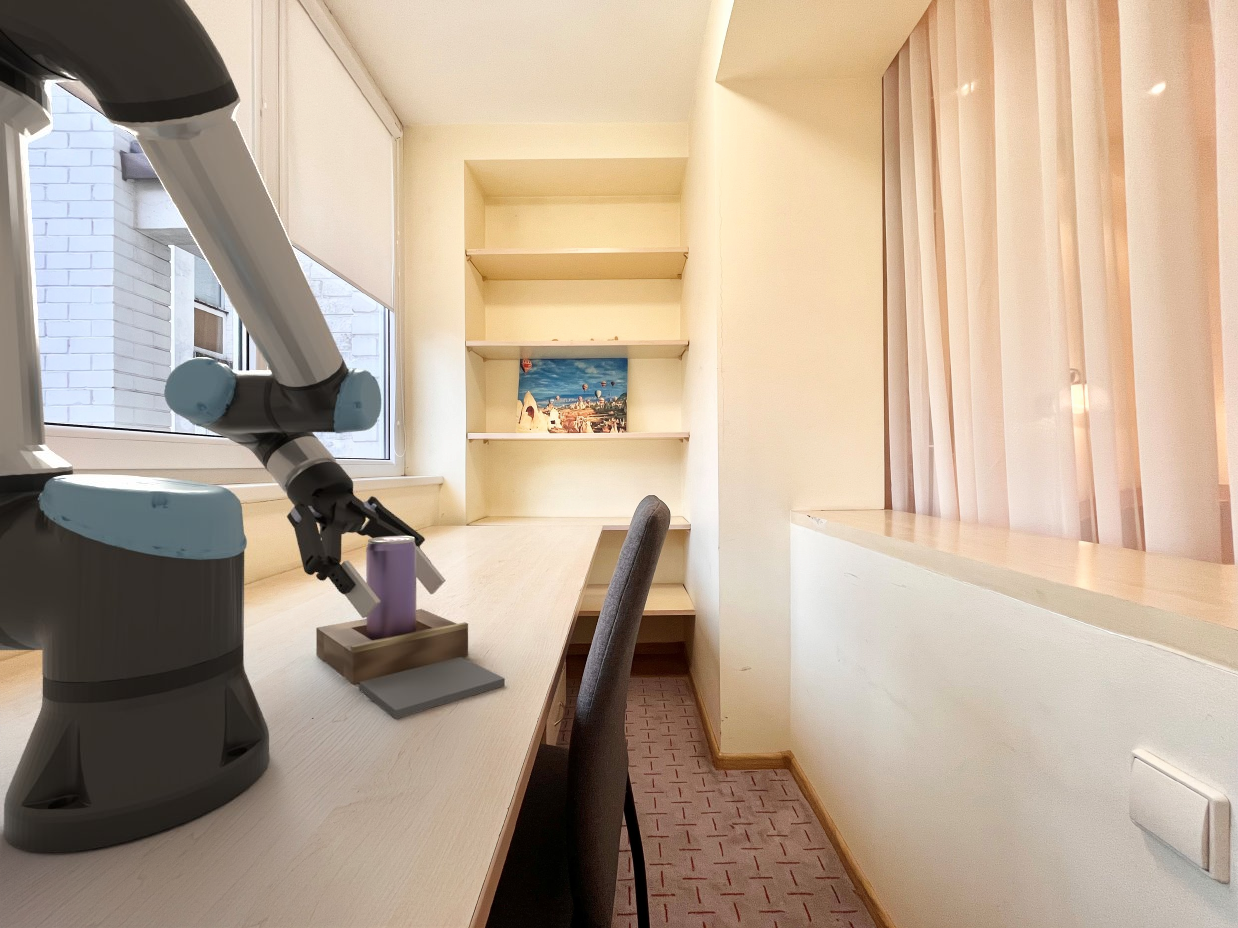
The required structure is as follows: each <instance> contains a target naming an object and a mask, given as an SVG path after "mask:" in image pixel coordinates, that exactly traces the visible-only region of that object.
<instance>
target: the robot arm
mask: <svg viewBox="0 0 1238 928" xmlns="http://www.w3.org/2000/svg"><path fill="white" fill-rule="evenodd" d="M69 82H79V83H80V82H81V84H82V85H83V86H84V87H86V89H88V90H89V91H90V92H91V94H92V95H93V96H94V98H95V99H96V101H97V103H98V105H99V106H100V109H102V111H103V113H104V115H105V117H106V119H107V120H108V121H109V122H110V123H111V124H113V125H114V126H117V127H119V128H121V129H123V130H125V131H127V132H129V134H131V135H132V136H133V137H134V138H135V140H136V142H137V143H138V144H139V146H140V148H141V150H142V152H143V154H144V156H145V157H146V158H147V160H148V162H149V164H150V166H151V168H152V169H153V170H154V173H155V174H156V176H157V178H158V179H159V181H160V183H161V184H162V187H163V188H164V190H165V191H166V194H167V195H168V197H169V199H170V200H171V203H173V205H174V207H175V208H176V210H177V212H178V213H179V215H180V217H181V219H182V221H183V223H184V224H185V226H186V228H187V229H188V232H189V233H190V235H191V237H192V238H193V240H194V242H195V243H196V245H197V246H198V248H199V250H200V253H201V254H202V255H203V257H204V259H205V260H206V262H207V264H208V266H209V268H210V269H211V271H212V273H213V274H214V276H215V278H216V279H217V281H218V283H219V284H220V286H221V288H222V290H223V291H224V294H225V295H226V296H227V298H228V301H229V302H230V304H231V305H232V307H233V309H234V310H235V312H236V314H237V316H238V317H239V319H240V321H241V323H242V324H243V326H244V328H245V329H246V331H247V333H248V335H249V336H250V338H251V340H252V342H253V343H254V346H255V347H256V348H257V351H258V352H259V353H260V355H261V357H262V359H263V360H264V362H265V364H266V366H267V367H268V369H269V370H236V369H233V368H232V367H230V366H229V365H227V364H226V363H222V362H220V361H219V360H216V359H213V358H209V357H205V356H204V357H203V356H201V357H193V358H190V359H187V360H185V361H183V362H182V363H180V364H178V365H177V366H176V367H175V368H174V369H173V370H172V371H171V372H170V374H169V375H168V376H167V379H166V383H165V385H164V392H163V394H164V399H165V402H166V404H167V405H168V407H169V408H170V410H172V412H173V413H174V414H177V415H178V416H180V417H182V418H184V419H186V420H188V422H189V423H191V424H192V425H194V426H197V427H200V428H204V429H206V430H208V431H210V432H212V433H215V434H217V435H219V436H222V437H223V438H226V439H228V440H229V441H232V442H233V443H236V444H237V445H240V446H242V447H245V448H247V449H249V451H251V453H253V454H254V456H255V457H256V458H257V459H258V460H259V462H260V463H261V465H263V467H264V468H265V470H266V471H267V472H268V473H269V474H270V475H271V477H272V478H273V479H274V480H275V482H276V483H277V484H278V486H279V487H280V489H282V491H283V493H285V494H286V496H287V498H288V499H289V500H290V502H291V504H293V508H292V509H290V511H289V513H288V514H287V515H286V518H287V520H288V521H289V523H290V525H291V526H292V527H293V528H294V533H295V538H296V541H297V547H298V550H299V553H300V558H301V562H302V566H303V570H304V573H305V574H307V575H308V576H309V575H310V576H313V575H314V574H315V573H317V574H316V575H315V576H316V578H317V580H319V581H321V582H322V581H323V582H324V581H326V579H329V580H330V581H331V583H332V584H333V585H334V587H335V588H336V589H337V591H338V592H339V593H340V594H342V595H344V596H345V597H346V598H347V600H348V601H349V602H350V604H351V605H352V606H353V608H354V609H355V610H356V612H357V613H358V615H360V617H361V618H362V619H366V617H368V615H369V614H370V613H371V612H372V611H373V610H374V609H375V608H376V606H377V605H378V604H379V603H380V602H381V601H380V600H379V598H378V597H377V596H376V595H375V593H374V592H373V591H372V590H371V588H370V587H369V586H368V584H367V583H366V580H365V579H364V578H363V577H362V575H361V574H360V573H359V572H358V570H357V569H356V568H355V566H354V565H353V564H352V563H351V561H350V560H345V561H343V562H342V538H343V537H342V535H345V534H346V533H349V534H353V533H356V534H358V535H359V536H362V537H365V536H368V537H369V538H370V539H371V538H377V537H388V536H410V537H414V538H415V540H414V541H415V544H416V579H417V580H418V581H419V582H420V583H421V584H422V585H423V587H424V588H425V590H426V591H427V592H428V593H429V594H430V595H433V594H436V592H437V591H438V590H439V588H441V586H442V585H443V584H444V583H445V582H446V581H447V580H446V578H445V577H443V575H442V574H441V573H440V571H439V570H438V569H437V568H436V567H435V566H434V564H433V563H432V562H431V560H430V559H429V558H428V556H427V555H426V554H425V553H424V551H423V550H422V549H421V545H422V544H423V543H424V542H425V541H426V539H425V537H424V536H423V535H422V534H421V533H419V532H418V531H416V530H415V529H414V528H412V527H411V526H410V525H409V524H407V523H406V522H404V521H403V520H402V519H401V518H400V517H398V516H397V515H395V514H394V513H393V512H392V511H391V510H389V509H387V508H386V507H385V506H384V505H383V504H382V502H380V501H379V500H378V498H377V497H375V496H373V495H372V496H370V497H369V498H368V499H367V500H364V501H362V500H361V499H359V498H358V497H357V496H356V495H355V494H354V481H353V480H352V478H351V477H350V476H349V474H348V473H347V472H346V471H345V470H344V469H343V467H342V465H340V464H339V463H338V462H337V460H336V458H335V457H334V455H333V454H332V453H331V452H330V451H329V449H327V447H325V445H324V444H323V442H321V441H320V440H319V438H318V437H317V436H316V435H315V434H314V433H336V434H342V433H352V432H363V431H368V430H370V429H371V428H374V426H375V425H376V423H378V419H379V417H380V414H381V411H382V394H381V389H380V385H379V383H378V380H377V379H376V377H375V376H374V375H372V373H371V372H369V371H368V370H366V369H357V368H353V367H352V368H351V369H350V368H348V366H347V364H346V362H345V360H344V357H343V356H342V354H341V352H340V349H339V346H338V345H337V343H336V341H335V338H334V337H333V334H332V332H331V330H330V328H329V326H328V323H327V320H326V317H325V316H324V314H323V311H322V310H321V307H320V304H319V303H318V300H317V299H316V296H315V294H314V291H313V289H312V287H311V284H310V283H309V280H308V278H307V275H306V274H305V271H304V269H303V267H302V264H301V262H300V260H299V259H298V256H297V254H296V251H295V249H294V247H293V245H292V243H291V240H290V238H289V236H288V234H287V231H286V229H285V227H284V225H283V223H282V220H281V218H280V216H279V213H278V211H277V209H276V207H275V205H274V203H273V200H272V198H271V196H270V194H269V192H268V189H267V187H266V184H265V182H264V180H263V178H262V175H261V174H260V171H259V169H258V167H257V164H256V162H255V160H254V158H253V155H252V153H251V151H250V148H249V146H248V144H247V142H246V140H245V137H244V135H243V133H242V130H241V128H240V127H239V124H238V122H237V120H236V114H237V111H238V108H239V106H240V104H241V97H240V95H239V92H238V90H237V88H236V86H235V84H234V83H235V82H234V81H233V79H232V77H231V75H230V72H229V70H228V67H227V66H226V64H225V61H224V59H223V56H221V53H220V52H219V50H218V48H217V47H216V44H215V43H214V42H213V39H212V38H211V37H210V35H209V34H208V32H207V30H206V29H205V26H204V25H203V24H202V23H201V21H200V20H199V18H198V17H197V15H196V14H195V13H194V11H193V10H192V8H191V7H190V5H189V4H188V3H187V1H186V0H0V651H41V652H42V654H41V655H42V659H41V660H42V664H41V665H42V669H41V671H42V673H41V674H42V697H41V698H42V702H41V709H40V712H39V713H38V717H37V719H36V721H35V723H34V726H33V728H32V730H31V732H30V735H29V738H28V740H27V743H26V745H25V747H24V750H23V752H22V755H21V756H20V757H21V758H20V760H19V762H18V765H17V767H16V769H15V772H14V774H13V776H12V779H11V782H10V784H9V786H8V789H7V791H6V793H5V798H4V802H3V803H4V804H3V806H4V807H3V815H4V816H3V834H4V839H5V840H6V841H7V842H8V843H9V844H10V845H11V846H14V847H15V848H18V849H21V850H24V851H29V852H35V853H37V852H38V853H64V852H66V853H67V852H77V851H85V850H91V849H92V850H93V849H96V848H102V847H107V846H108V847H109V846H112V845H116V844H121V843H125V842H128V841H132V840H136V839H140V838H143V837H146V836H150V835H152V834H156V833H159V832H162V831H165V830H167V829H170V828H173V827H175V826H178V825H180V824H183V823H185V822H188V821H191V820H192V819H195V818H197V817H199V816H201V815H204V814H206V813H207V812H210V811H213V810H214V809H216V808H218V807H219V806H221V805H223V804H224V803H227V802H228V801H230V800H232V799H233V798H234V797H236V796H238V795H239V794H241V793H242V792H244V791H245V790H247V789H248V788H249V787H250V786H251V785H252V784H254V783H255V782H256V781H257V780H258V779H259V778H260V777H261V776H262V774H263V773H264V771H265V770H266V769H267V767H268V765H269V763H270V732H269V727H268V725H267V724H268V723H267V722H266V720H265V717H264V715H263V712H262V709H261V706H260V705H259V703H258V700H257V697H256V695H255V692H254V690H253V687H252V685H251V683H250V679H249V678H248V675H247V673H246V669H245V662H244V661H245V660H244V656H245V655H244V654H245V653H244V647H245V646H244V640H245V638H244V637H245V550H246V549H247V546H248V545H247V543H248V542H247V536H246V534H245V530H244V527H245V525H244V517H243V516H244V515H243V507H242V503H241V500H240V499H239V498H238V496H237V494H235V493H233V492H232V491H231V490H229V489H228V488H226V487H224V486H221V485H216V484H212V483H206V482H202V481H201V482H200V481H192V480H186V479H176V478H166V477H156V476H155V477H149V476H148V477H146V476H137V475H136V476H135V475H121V474H74V468H73V465H72V464H71V463H69V462H68V461H66V460H65V459H64V458H62V457H61V456H59V455H58V454H56V453H55V452H53V451H51V449H50V447H48V446H47V445H46V431H45V416H44V414H45V413H44V402H43V401H44V399H43V386H42V385H43V384H42V365H41V353H40V350H41V348H40V338H39V337H40V334H39V333H40V332H39V319H38V318H39V317H38V304H37V303H38V302H37V288H36V287H37V286H36V271H35V256H34V255H35V254H34V241H33V240H34V238H33V222H32V209H31V208H32V207H31V205H32V204H31V192H30V190H31V189H30V174H29V173H30V172H29V159H28V157H29V156H28V144H29V143H30V142H32V141H34V140H37V139H39V138H41V137H43V136H45V135H47V134H49V133H50V132H51V131H52V129H53V121H54V120H53V108H52V107H53V106H52V92H51V86H52V84H53V83H69ZM366 519H368V520H367V521H366ZM318 525H319V526H318ZM341 562H342V563H341Z"/></svg>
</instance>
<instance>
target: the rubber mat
mask: <svg viewBox="0 0 1238 928" xmlns="http://www.w3.org/2000/svg"><path fill="white" fill-rule="evenodd" d="M505 680H506V679H505V677H503V676H501V675H499V674H497V673H495V672H492V671H491V670H489V669H487V668H485V667H483V666H481V665H479V664H477V663H474V662H473V661H472V660H470V659H466V658H464V657H458V658H454V659H450V660H446V661H442V662H438V663H434V664H430V665H426V666H422V667H418V668H414V669H410V670H406V671H402V672H398V673H394V674H390V675H386V676H382V677H378V678H374V679H370V680H366V681H362V682H359V683H358V684H359V686H358V689H359V691H361V692H362V693H363V694H364V695H365V696H367V697H368V698H369V699H370V700H371V701H373V702H375V703H376V704H377V705H378V706H379V707H380V708H381V709H383V710H384V711H385V712H387V713H388V714H389V715H390V716H392V718H394V719H399V718H404V717H405V716H409V715H413V714H416V713H419V712H423V711H425V710H426V711H427V710H429V709H432V708H436V707H439V706H441V705H445V704H449V703H452V702H455V701H459V700H462V699H465V698H468V697H471V696H474V695H479V694H481V693H484V692H488V691H491V690H495V689H497V688H501V687H504V686H506V685H505Z"/></svg>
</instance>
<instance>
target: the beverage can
mask: <svg viewBox="0 0 1238 928" xmlns="http://www.w3.org/2000/svg"><path fill="white" fill-rule="evenodd" d="M414 540H415V538H414V537H410V536H388V537H377V538H371V537H370V538H369V539H368V540H367V542H368V543H367V546H366V549H365V550H366V551H365V552H366V556H365V557H366V559H365V561H366V563H365V564H366V565H365V566H366V572H365V573H366V574H365V575H366V577H365V578H366V580H365V582H366V583H367V584H368V586H369V587H370V588H371V590H372V591H373V592H374V593H375V595H376V596H377V597H378V598H379V600H380V601H381V602H380V603H379V604H378V605H377V606H376V608H375V609H374V610H373V611H372V612H371V613H370V614H369V615H368V617H365V619H366V625H367V638H369V639H370V640H372V641H373V640H377V639H382V638H387V637H392V636H397V635H402V634H407V633H412V632H416V610H417V577H416V544H415V541H414Z"/></svg>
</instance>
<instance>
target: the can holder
mask: <svg viewBox="0 0 1238 928" xmlns="http://www.w3.org/2000/svg"><path fill="white" fill-rule="evenodd" d="M315 628H316V629H315V630H316V632H315V633H316V636H315V637H316V639H315V640H316V643H315V645H316V656H317V657H319V658H320V659H321V660H322V661H324V662H325V663H326V665H329V666H330V667H331V668H332V669H333V670H334V671H336V672H337V673H338V674H339V675H341V676H342V677H344V678H345V679H346V680H347V681H348V682H349V683H351V684H352V685H357V684H359V682H362V681H366V680H370V679H374V678H378V677H382V676H386V675H390V674H394V673H398V672H402V671H406V670H410V669H414V668H418V667H422V666H426V665H430V664H434V663H438V662H442V661H446V660H450V659H454V658H458V657H463V658H464V657H468V656H469V623H468V622H461V623H460V622H459V623H456V622H454V621H451V620H449V619H446V618H444V617H442V616H439V615H437V614H434V613H432V612H429V611H427V610H425V609H422V608H419V609H416V632H412V633H407V634H402V635H397V636H392V637H387V638H382V639H377V640H373V641H372V640H370V639H369V638H367V625H366V618H362V619H358V620H357V619H356V620H353V621H345V622H340V623H336V624H329V625H324V626H319V627H315Z"/></svg>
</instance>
